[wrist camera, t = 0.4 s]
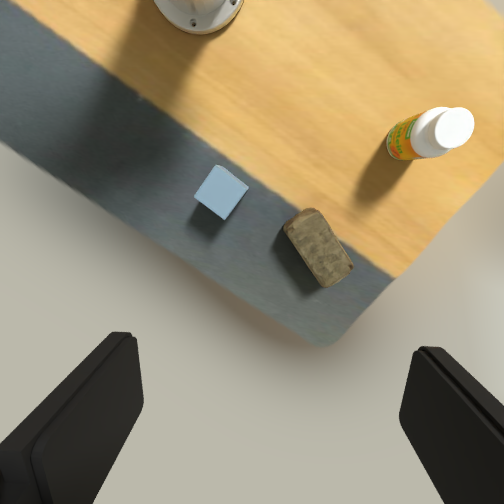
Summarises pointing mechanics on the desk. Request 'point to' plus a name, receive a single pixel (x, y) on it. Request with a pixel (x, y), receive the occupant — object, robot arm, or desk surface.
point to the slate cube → (221, 191)
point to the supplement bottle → (430, 133)
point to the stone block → (318, 246)
